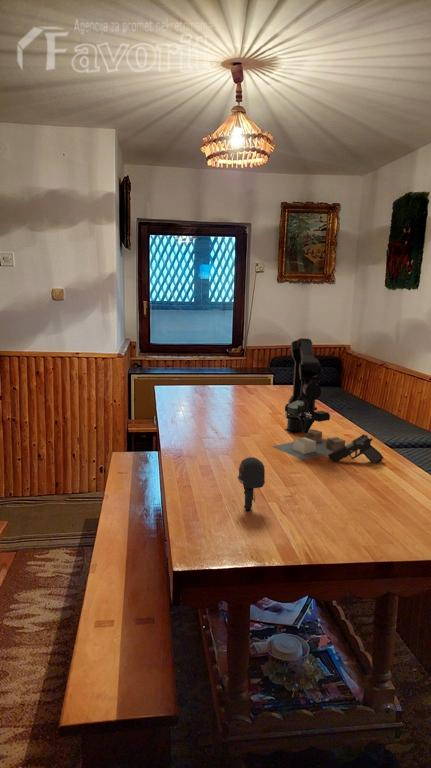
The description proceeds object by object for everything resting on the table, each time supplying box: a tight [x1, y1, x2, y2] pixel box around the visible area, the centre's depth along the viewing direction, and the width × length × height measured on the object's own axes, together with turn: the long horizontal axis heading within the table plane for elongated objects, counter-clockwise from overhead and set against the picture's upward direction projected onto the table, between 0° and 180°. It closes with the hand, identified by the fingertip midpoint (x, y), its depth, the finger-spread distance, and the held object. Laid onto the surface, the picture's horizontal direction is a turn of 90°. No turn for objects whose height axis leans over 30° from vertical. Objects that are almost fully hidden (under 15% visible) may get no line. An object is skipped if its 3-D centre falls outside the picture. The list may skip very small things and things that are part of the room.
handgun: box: [327, 434, 384, 464], centre depth 181 cm, size 17×2×12 cm
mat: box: [271, 438, 333, 461], centre depth 196 cm, size 18×26×1 cm
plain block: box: [292, 436, 316, 454], centre depth 192 cm, size 6×6×4 cm
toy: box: [237, 456, 266, 512], centre depth 139 cm, size 9×8×15 cm
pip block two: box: [326, 436, 346, 452], centre depth 195 cm, size 5×5×4 cm
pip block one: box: [304, 428, 323, 443], centre depth 204 cm, size 5×5×4 cm
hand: (305, 433), depth 191 cm, fingers closed
